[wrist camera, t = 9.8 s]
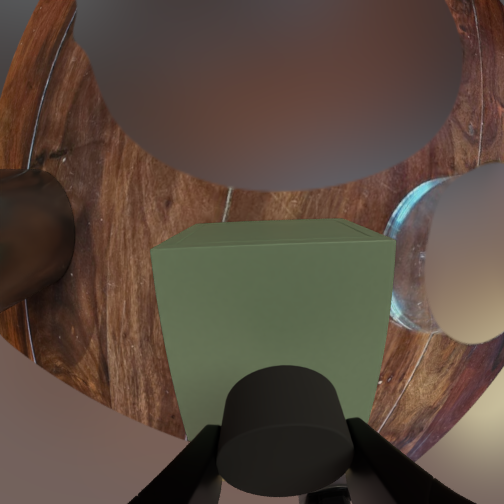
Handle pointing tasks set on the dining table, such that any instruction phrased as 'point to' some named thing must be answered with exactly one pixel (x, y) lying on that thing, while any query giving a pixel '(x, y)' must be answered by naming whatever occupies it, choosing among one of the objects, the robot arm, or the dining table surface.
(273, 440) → the black rubber puck
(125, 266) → the dining table surface
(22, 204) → the round grey canister
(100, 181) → the dining table surface
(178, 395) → the cabinet
